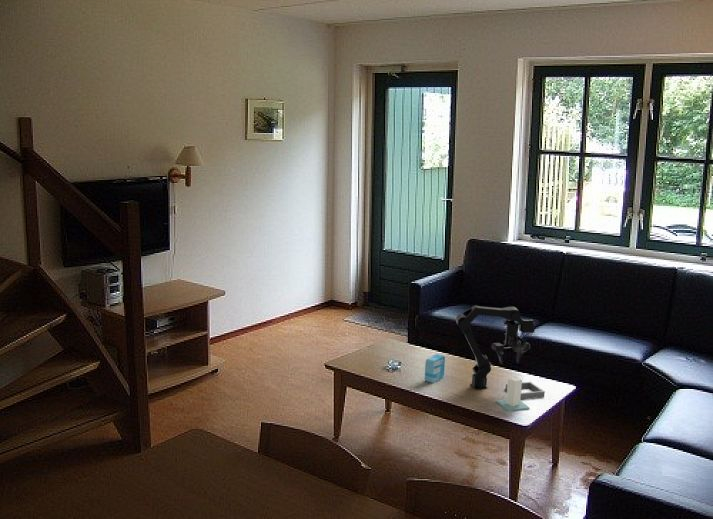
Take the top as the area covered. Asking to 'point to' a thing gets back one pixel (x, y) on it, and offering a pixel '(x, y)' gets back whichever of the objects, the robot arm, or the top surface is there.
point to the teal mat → (512, 408)
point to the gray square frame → (537, 392)
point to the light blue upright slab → (434, 368)
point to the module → (514, 391)
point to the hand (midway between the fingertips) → (509, 362)
